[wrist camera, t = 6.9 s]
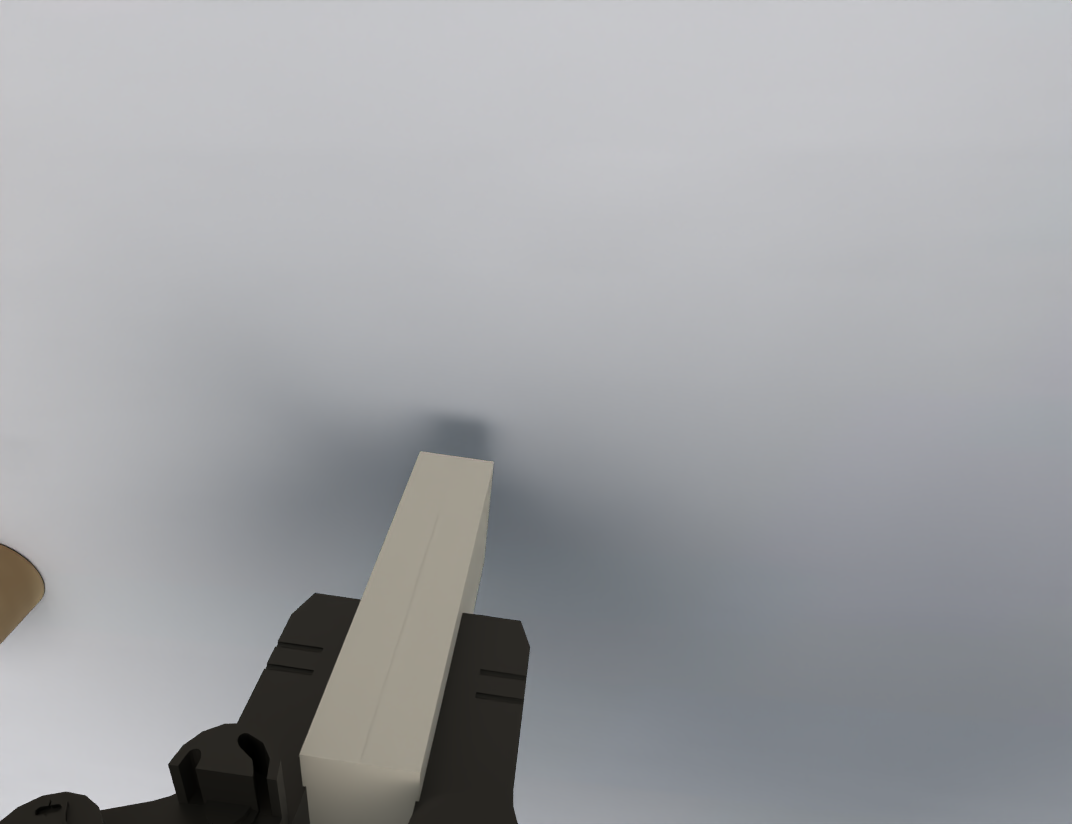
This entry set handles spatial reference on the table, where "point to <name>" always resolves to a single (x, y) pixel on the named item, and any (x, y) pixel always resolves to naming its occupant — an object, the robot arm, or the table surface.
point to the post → (16, 590)
